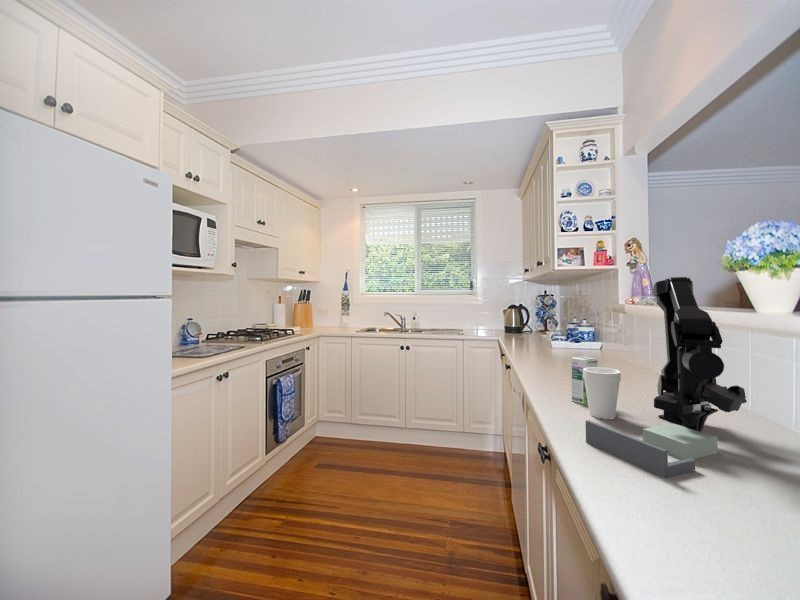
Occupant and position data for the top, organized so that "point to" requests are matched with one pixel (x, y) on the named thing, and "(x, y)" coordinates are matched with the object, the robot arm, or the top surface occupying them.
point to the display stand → (636, 451)
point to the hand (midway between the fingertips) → (694, 438)
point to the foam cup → (602, 391)
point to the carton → (681, 441)
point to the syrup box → (580, 377)
